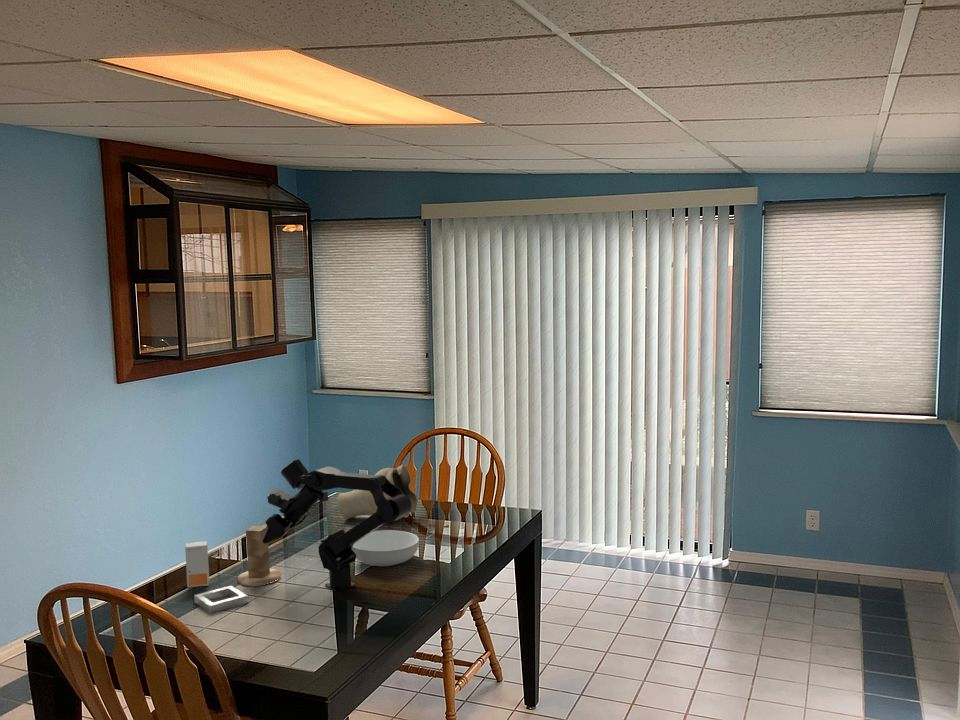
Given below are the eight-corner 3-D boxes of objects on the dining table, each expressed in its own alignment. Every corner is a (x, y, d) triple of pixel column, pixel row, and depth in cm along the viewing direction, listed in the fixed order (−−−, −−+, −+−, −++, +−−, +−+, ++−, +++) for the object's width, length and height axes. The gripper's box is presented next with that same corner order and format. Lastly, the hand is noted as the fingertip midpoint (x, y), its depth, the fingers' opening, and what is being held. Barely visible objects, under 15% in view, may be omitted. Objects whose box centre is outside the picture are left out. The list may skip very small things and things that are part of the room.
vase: (310, 488, 307) (388, 470, 299) (333, 463, 329) (407, 445, 321) (332, 548, 312) (410, 531, 304) (354, 519, 334) (427, 503, 326)
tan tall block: (269, 573, 261) (267, 526, 259) (263, 578, 256) (260, 531, 255) (255, 572, 262) (253, 525, 260) (248, 577, 257) (245, 530, 256)
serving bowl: (409, 575, 259) (408, 552, 258) (340, 572, 263) (339, 549, 262) (427, 552, 279) (426, 530, 278) (363, 549, 283) (362, 528, 283)
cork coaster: (288, 578, 258) (287, 575, 258) (249, 589, 251) (249, 585, 251) (269, 568, 268) (269, 565, 267) (231, 578, 260) (231, 575, 260)
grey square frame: (247, 602, 241) (247, 595, 240) (210, 613, 234) (209, 605, 234) (231, 592, 249) (231, 585, 249) (194, 602, 242) (194, 595, 242)
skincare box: (187, 588, 253) (184, 547, 252) (187, 583, 257) (185, 542, 256) (209, 585, 255) (207, 545, 253) (209, 580, 259) (207, 540, 257)
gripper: (297, 473, 263) (265, 508, 267) (269, 489, 245) (235, 527, 248) (324, 499, 262) (291, 535, 266) (298, 517, 244) (263, 555, 248)
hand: (270, 537), depth 257 cm, fingers open, 9 cm apart
